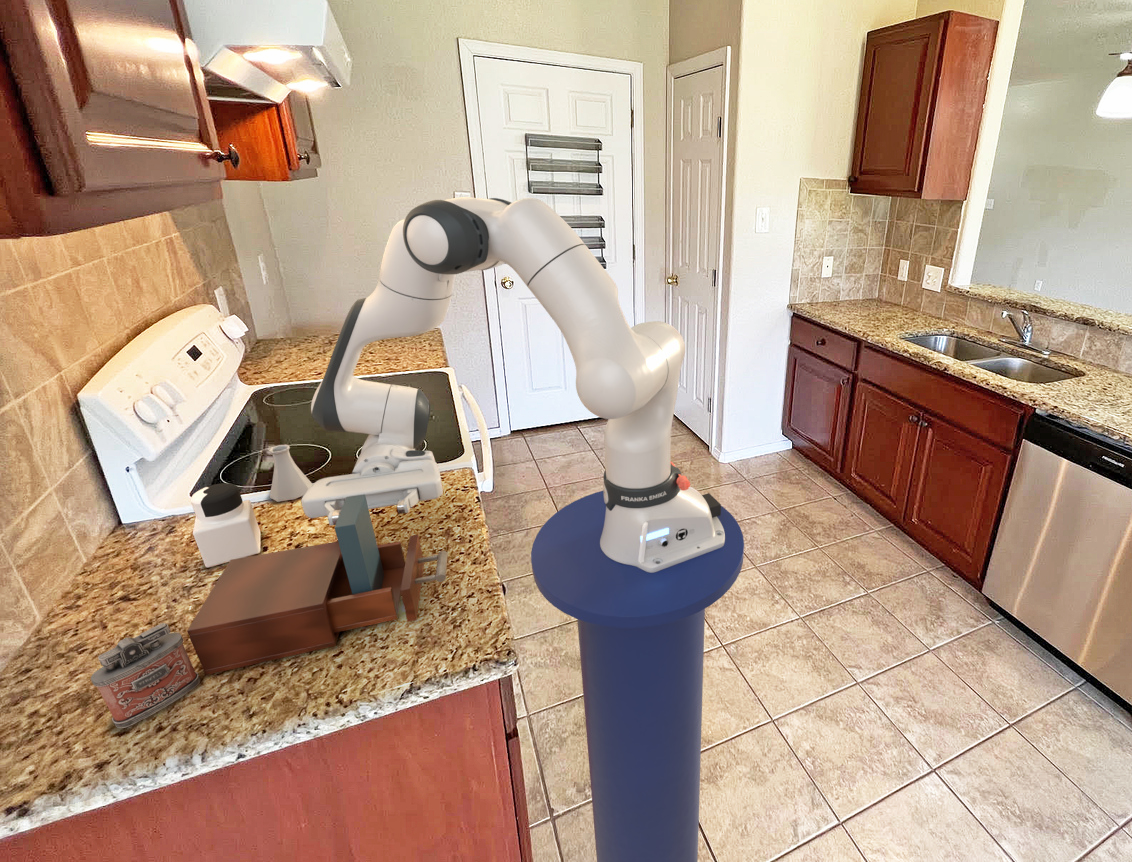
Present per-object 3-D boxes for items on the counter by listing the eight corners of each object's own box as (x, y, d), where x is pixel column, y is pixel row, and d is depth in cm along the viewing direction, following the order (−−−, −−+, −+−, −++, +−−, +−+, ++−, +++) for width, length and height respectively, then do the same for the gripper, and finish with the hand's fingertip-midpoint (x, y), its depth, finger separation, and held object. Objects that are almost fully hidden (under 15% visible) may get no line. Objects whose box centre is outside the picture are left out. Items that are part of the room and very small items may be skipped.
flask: (272, 506, 109) (258, 460, 106) (267, 491, 114) (253, 446, 110) (317, 493, 114) (305, 449, 110) (310, 479, 119) (298, 436, 115)
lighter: (121, 733, 67) (88, 670, 63) (109, 719, 68) (76, 657, 64) (205, 683, 73) (180, 623, 69) (193, 671, 75) (167, 612, 71)
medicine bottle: (261, 532, 102) (241, 474, 97) (260, 553, 97) (240, 493, 92) (209, 546, 98) (186, 486, 93) (206, 569, 93) (181, 506, 88)
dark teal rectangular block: (384, 575, 90) (365, 494, 84) (376, 610, 83) (354, 524, 77) (367, 578, 89) (346, 496, 83) (357, 614, 82) (334, 527, 76)
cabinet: (355, 578, 92) (345, 540, 89) (335, 646, 79) (323, 603, 76) (245, 600, 87) (230, 559, 84) (205, 675, 74) (186, 630, 71)
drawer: (451, 557, 96) (446, 529, 94) (448, 612, 84) (442, 581, 82) (329, 581, 90) (320, 551, 88) (307, 644, 78) (296, 611, 76)
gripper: (309, 466, 96) (284, 510, 85) (441, 449, 104) (436, 487, 92) (317, 498, 99) (295, 545, 87) (446, 479, 106) (442, 520, 94)
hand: (369, 515), depth 89 cm, fingers open, 8 cm apart
